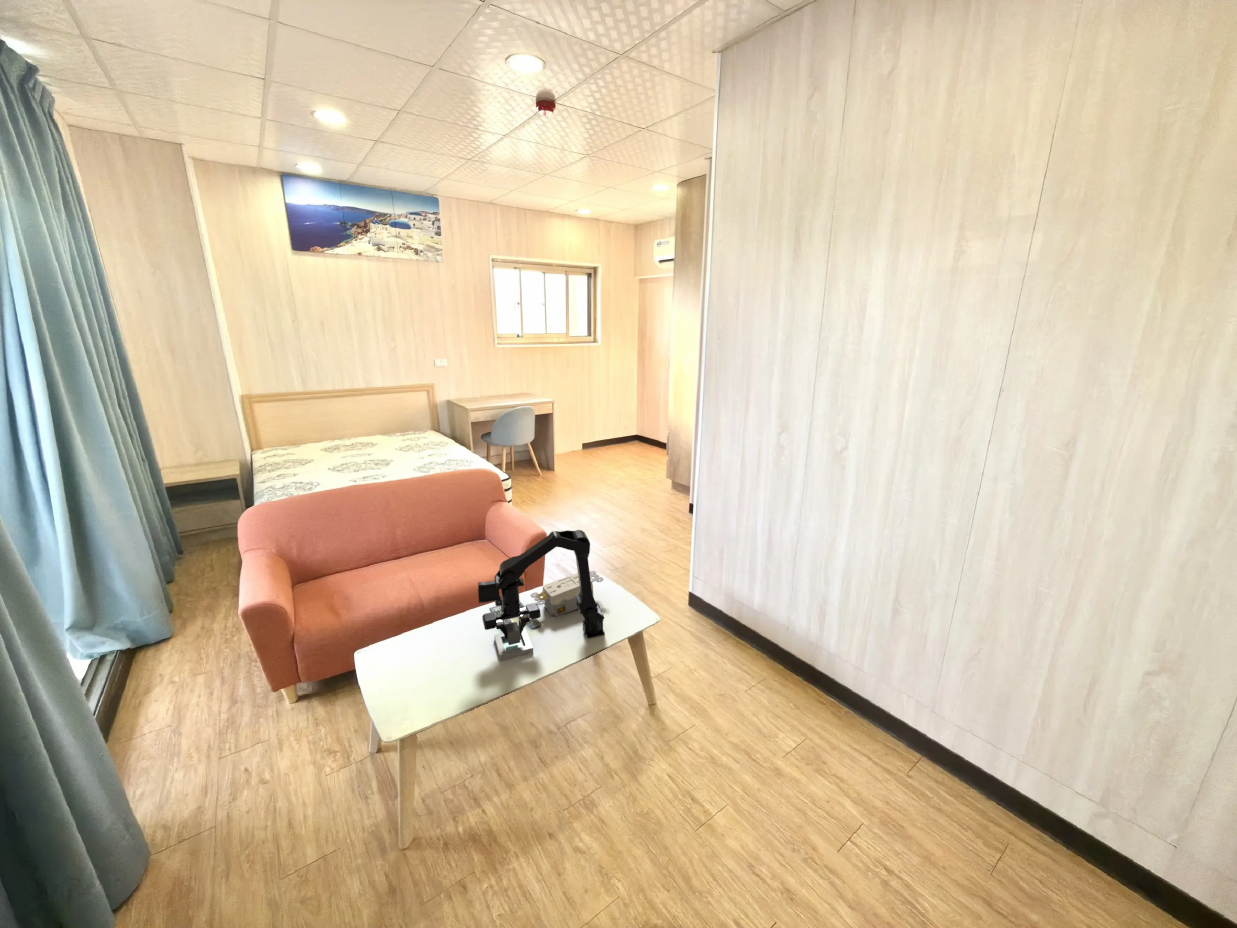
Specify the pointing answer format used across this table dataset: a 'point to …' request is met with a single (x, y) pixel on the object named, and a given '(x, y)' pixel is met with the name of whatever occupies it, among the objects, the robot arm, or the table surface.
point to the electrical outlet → (562, 594)
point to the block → (513, 633)
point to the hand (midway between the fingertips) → (513, 636)
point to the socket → (513, 646)
